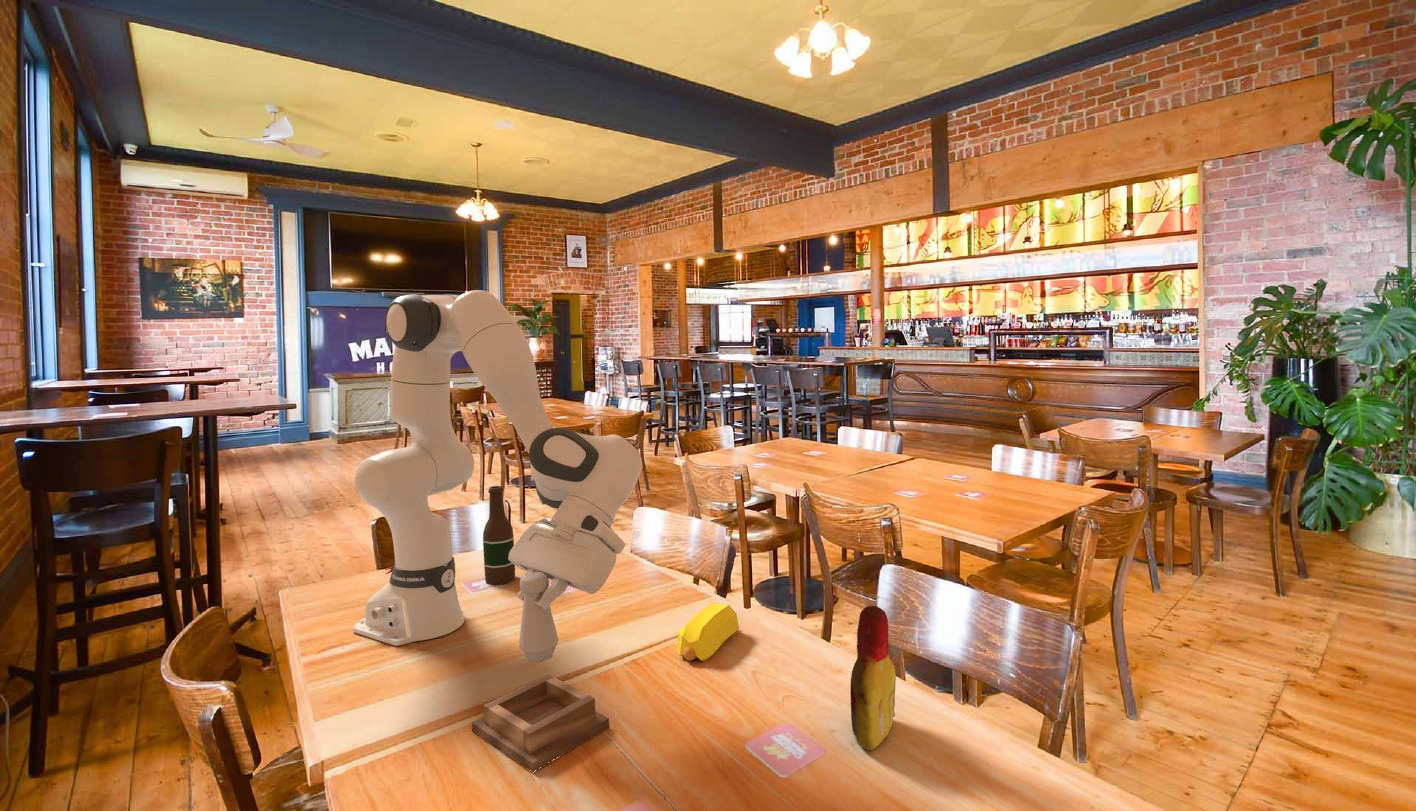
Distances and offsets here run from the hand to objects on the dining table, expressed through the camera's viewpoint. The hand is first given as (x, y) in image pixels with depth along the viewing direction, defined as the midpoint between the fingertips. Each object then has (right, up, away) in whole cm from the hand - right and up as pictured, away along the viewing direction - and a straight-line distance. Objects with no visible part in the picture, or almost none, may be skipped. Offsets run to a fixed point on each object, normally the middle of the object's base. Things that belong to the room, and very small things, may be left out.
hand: (531, 603), depth 101 cm
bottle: (+51, -20, -1) cm, 55 cm away
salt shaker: (+1, -9, +2) cm, 9 cm away
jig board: (+1, -20, +2) cm, 20 cm away
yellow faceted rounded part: (+27, -17, +30) cm, 44 cm away
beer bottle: (-26, -14, +68) cm, 74 cm away
